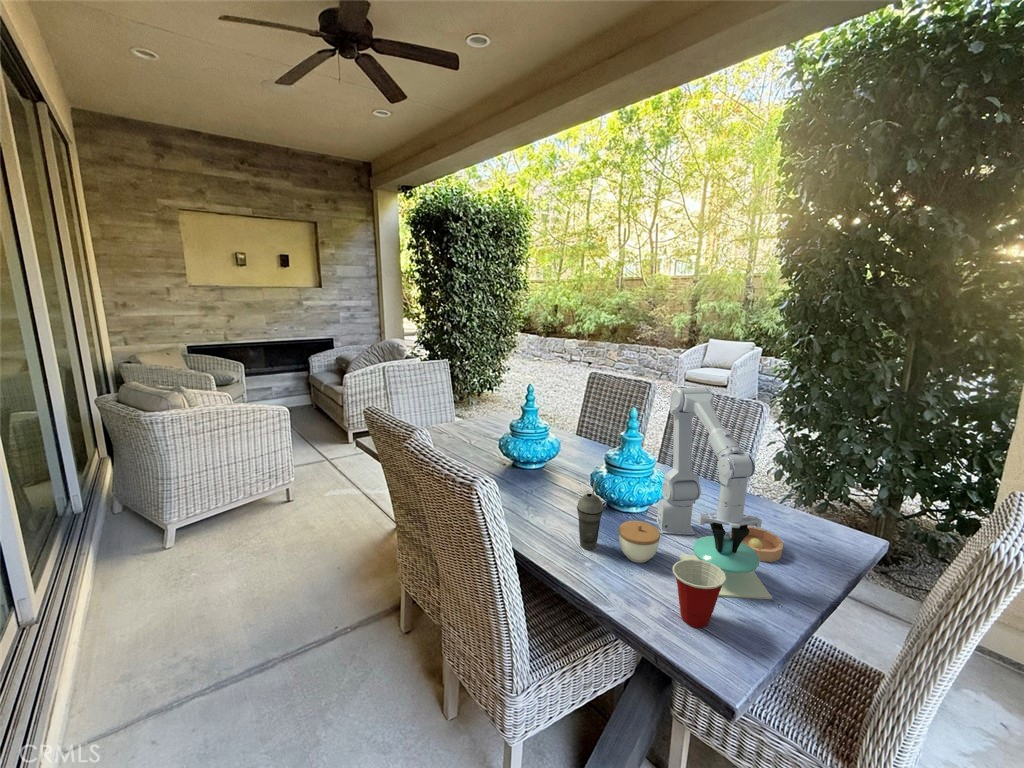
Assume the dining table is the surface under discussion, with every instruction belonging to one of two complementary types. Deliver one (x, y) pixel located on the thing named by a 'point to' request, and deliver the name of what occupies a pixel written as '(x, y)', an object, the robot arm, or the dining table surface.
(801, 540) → the dining table surface
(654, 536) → the lidded jar
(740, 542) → the robot arm
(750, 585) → the mat
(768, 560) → the bowl
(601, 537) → the dining table surface
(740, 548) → the lid
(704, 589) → the plastic cup
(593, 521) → the beverage cup
